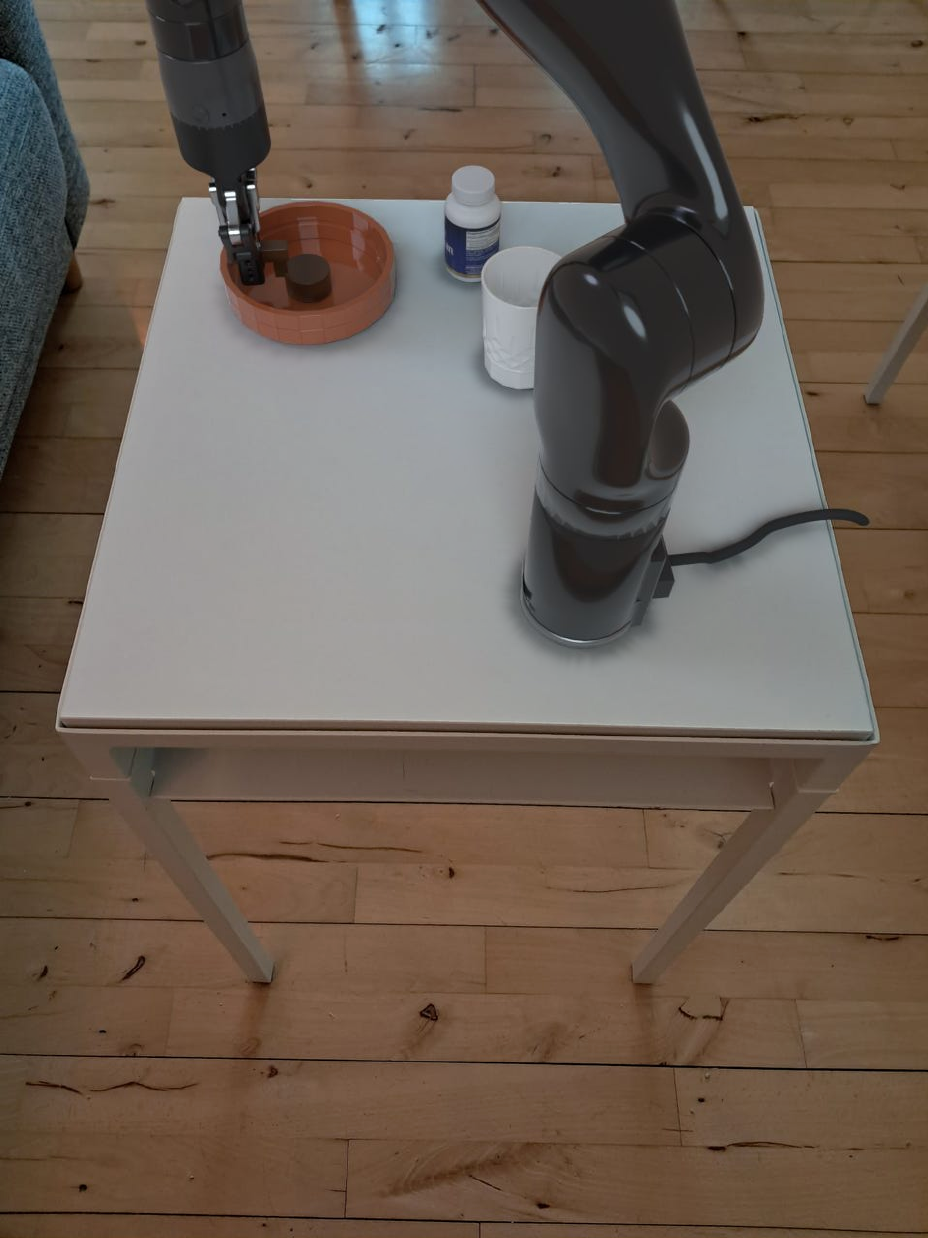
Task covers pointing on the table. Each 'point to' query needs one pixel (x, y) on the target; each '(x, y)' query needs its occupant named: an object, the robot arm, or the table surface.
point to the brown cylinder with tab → (297, 271)
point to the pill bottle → (471, 223)
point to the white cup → (513, 312)
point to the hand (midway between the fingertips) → (254, 274)
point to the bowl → (354, 266)
